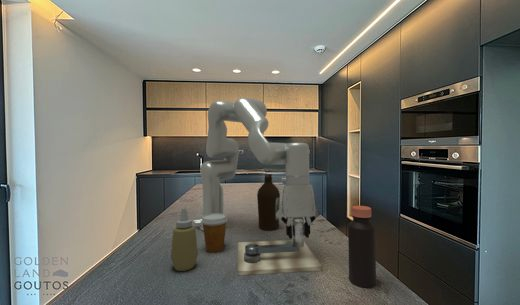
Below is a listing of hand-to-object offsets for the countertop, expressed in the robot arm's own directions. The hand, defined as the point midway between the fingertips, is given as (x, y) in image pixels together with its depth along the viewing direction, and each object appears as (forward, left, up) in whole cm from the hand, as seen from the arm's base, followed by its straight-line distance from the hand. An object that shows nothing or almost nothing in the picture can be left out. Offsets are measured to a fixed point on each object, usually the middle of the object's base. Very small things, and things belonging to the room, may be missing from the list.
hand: (298, 236), depth 77 cm
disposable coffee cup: (-28, +13, -8) cm, 32 cm away
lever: (-8, 0, -5) cm, 9 cm away
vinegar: (+14, -14, -8) cm, 21 cm away
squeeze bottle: (-36, 0, -8) cm, 37 cm away
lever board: (-7, +4, -8) cm, 11 cm away
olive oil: (-5, +35, -8) cm, 36 cm away
